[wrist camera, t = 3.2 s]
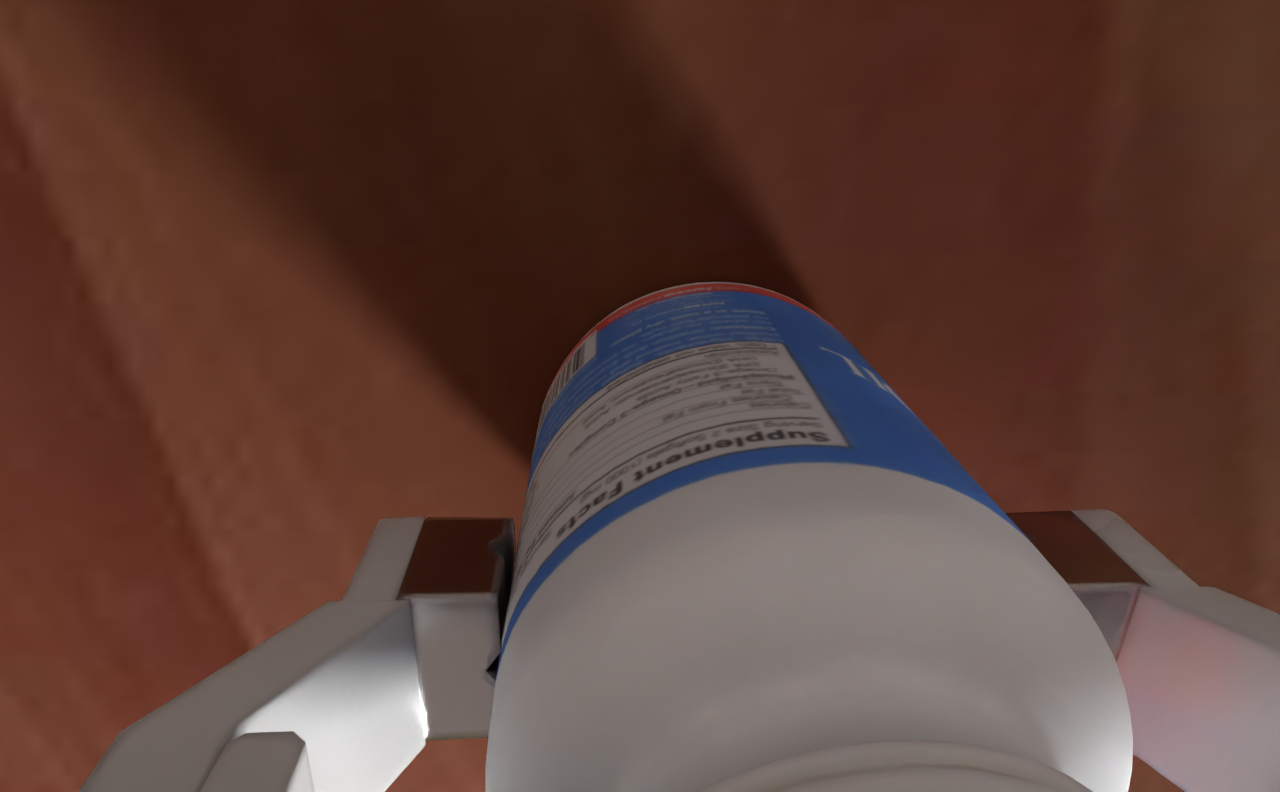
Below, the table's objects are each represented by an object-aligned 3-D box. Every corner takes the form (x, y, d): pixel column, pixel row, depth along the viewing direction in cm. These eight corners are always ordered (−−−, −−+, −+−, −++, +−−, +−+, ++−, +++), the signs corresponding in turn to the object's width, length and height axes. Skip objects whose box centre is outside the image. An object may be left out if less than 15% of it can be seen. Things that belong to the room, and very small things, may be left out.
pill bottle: (904, 507, 14) (1472, 1339, 5) (616, 610, 14) (653, 1531, 5) (812, 211, 12) (1517, 723, 3) (478, 346, 12) (171, 1136, 3)
